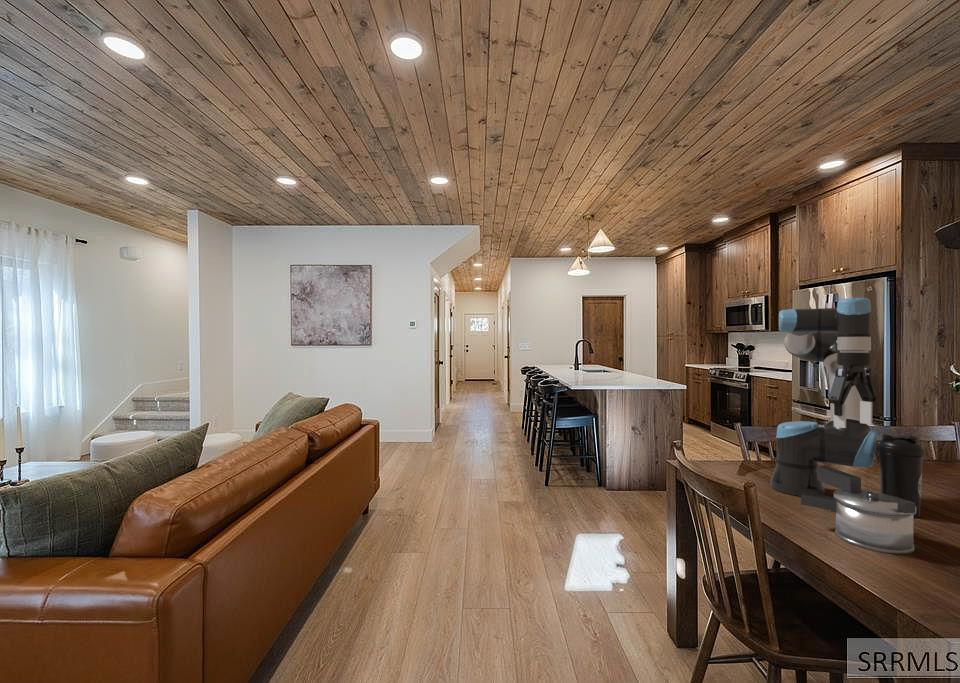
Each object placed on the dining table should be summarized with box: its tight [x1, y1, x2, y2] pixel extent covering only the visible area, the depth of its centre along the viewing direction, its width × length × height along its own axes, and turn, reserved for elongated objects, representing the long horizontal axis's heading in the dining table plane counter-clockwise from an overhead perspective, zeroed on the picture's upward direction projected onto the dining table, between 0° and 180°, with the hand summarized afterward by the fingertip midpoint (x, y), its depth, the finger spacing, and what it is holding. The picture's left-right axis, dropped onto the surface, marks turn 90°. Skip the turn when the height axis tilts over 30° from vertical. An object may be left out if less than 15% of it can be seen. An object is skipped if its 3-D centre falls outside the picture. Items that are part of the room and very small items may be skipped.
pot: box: [800, 492, 915, 555], centre depth 119 cm, size 23×15×9 cm
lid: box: [817, 466, 916, 516], centre depth 120 cm, size 25×16×5 cm, turn 4°
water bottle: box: [877, 433, 925, 519], centre depth 136 cm, size 10×10×23 cm
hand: (853, 425), depth 131 cm, fingers open, 13 cm apart
